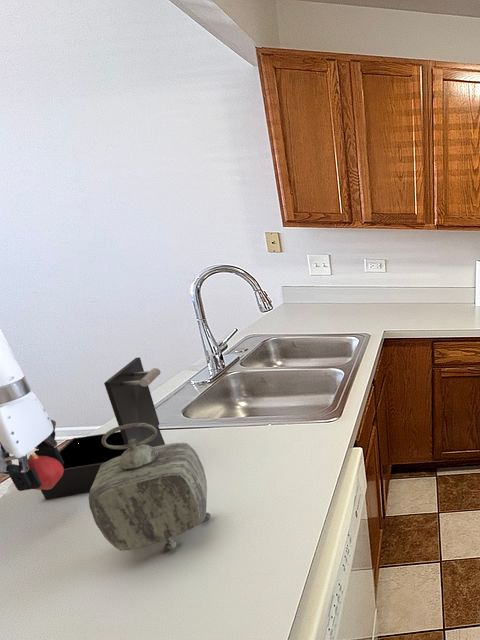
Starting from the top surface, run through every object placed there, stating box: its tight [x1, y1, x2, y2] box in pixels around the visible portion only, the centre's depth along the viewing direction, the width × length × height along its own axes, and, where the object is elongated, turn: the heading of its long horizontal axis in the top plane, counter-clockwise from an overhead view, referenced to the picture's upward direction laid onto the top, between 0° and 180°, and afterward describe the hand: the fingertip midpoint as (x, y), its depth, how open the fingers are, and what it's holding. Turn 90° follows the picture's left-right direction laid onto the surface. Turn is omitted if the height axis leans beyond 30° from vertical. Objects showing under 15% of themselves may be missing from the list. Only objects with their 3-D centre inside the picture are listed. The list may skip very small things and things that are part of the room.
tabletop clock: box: [88, 423, 211, 552], centre depth 68 cm, size 14×9×25 cm, turn 122°
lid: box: [103, 356, 161, 449], centre depth 89 cm, size 18×14×6 cm
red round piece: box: [27, 453, 64, 491], centre depth 75 cm, size 6×6×8 cm
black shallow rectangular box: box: [39, 425, 166, 501], centre depth 90 cm, size 17×14×6 cm
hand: (42, 476), depth 75 cm, fingers closed on red round piece, 5 cm apart
